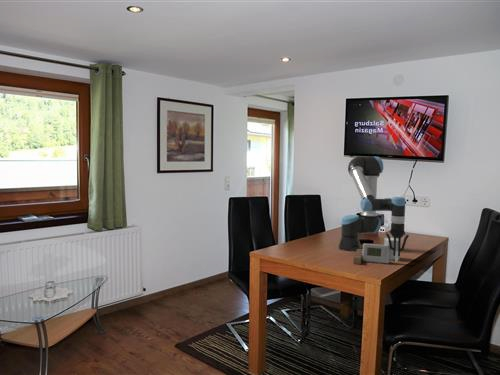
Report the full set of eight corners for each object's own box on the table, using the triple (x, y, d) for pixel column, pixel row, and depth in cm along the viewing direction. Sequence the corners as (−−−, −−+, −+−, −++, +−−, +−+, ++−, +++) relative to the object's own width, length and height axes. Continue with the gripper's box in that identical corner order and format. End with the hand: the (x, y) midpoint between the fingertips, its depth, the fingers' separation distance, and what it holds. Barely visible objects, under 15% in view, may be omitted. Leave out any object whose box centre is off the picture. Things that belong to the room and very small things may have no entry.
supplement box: (395, 257, 255) (395, 237, 254) (399, 260, 248) (400, 240, 247) (383, 257, 255) (384, 237, 254) (387, 260, 247) (388, 240, 246)
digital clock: (360, 261, 243) (361, 244, 243) (365, 258, 251) (365, 241, 250) (387, 265, 235) (388, 247, 234) (391, 262, 242) (391, 245, 241)
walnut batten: (356, 254, 260) (357, 248, 260) (363, 255, 259) (363, 249, 259) (353, 263, 238) (353, 257, 237) (360, 264, 236) (360, 258, 236)
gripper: (386, 223, 236) (384, 261, 237) (409, 224, 231) (408, 264, 233) (386, 221, 243) (385, 259, 244) (409, 222, 238) (407, 260, 240)
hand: (396, 261), depth 239 cm, fingers closed
